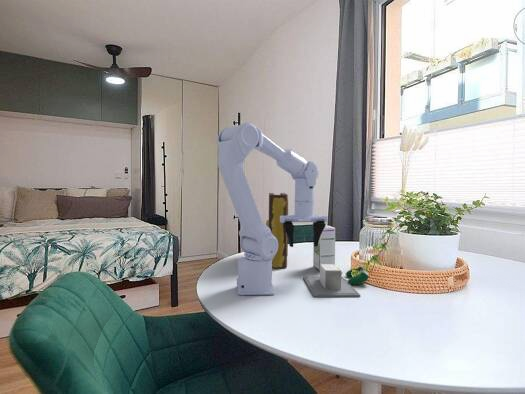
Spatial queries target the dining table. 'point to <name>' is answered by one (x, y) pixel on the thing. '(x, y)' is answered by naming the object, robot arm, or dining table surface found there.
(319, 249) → the syrup box
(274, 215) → the book
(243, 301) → the dining table surface
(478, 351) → the dining table surface
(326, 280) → the plug
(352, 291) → the mat
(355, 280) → the gaming controller
